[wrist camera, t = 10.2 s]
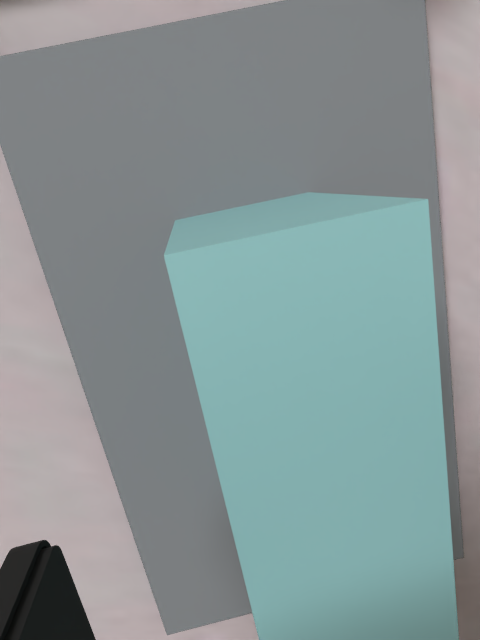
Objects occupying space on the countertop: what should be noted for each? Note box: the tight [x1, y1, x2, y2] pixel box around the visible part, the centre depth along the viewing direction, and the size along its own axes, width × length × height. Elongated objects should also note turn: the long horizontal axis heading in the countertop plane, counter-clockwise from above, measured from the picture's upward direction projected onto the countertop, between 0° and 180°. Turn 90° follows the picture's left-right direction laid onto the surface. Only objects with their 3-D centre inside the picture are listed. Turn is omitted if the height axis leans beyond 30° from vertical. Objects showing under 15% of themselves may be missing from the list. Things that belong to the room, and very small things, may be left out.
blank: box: [164, 192, 459, 640], centre depth 12 cm, size 4×10×7 cm, turn 11°
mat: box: [0, 0, 464, 635], centre depth 15 cm, size 20×12×1 cm, turn 12°
